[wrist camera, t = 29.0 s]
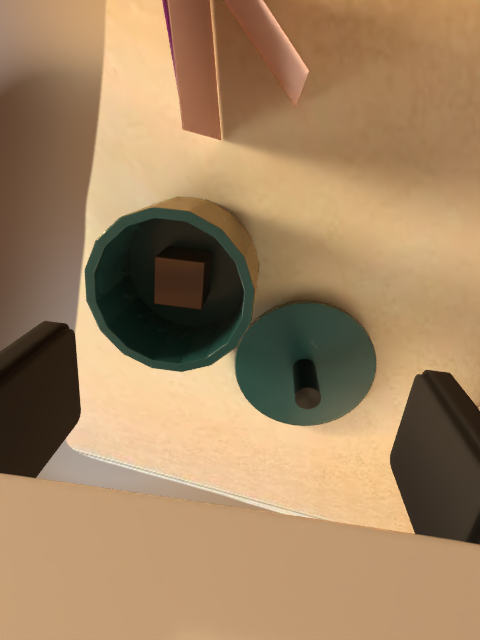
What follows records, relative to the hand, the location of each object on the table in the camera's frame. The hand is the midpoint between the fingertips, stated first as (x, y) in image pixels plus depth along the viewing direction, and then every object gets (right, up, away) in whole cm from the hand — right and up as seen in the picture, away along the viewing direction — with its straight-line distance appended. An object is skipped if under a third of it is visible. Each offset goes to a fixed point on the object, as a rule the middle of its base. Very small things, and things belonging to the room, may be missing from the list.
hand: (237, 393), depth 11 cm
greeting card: (+1, +23, +21) cm, 31 cm away
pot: (-5, +7, +28) cm, 30 cm away
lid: (+7, -3, +31) cm, 32 cm away
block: (-5, +7, +28) cm, 29 cm away
